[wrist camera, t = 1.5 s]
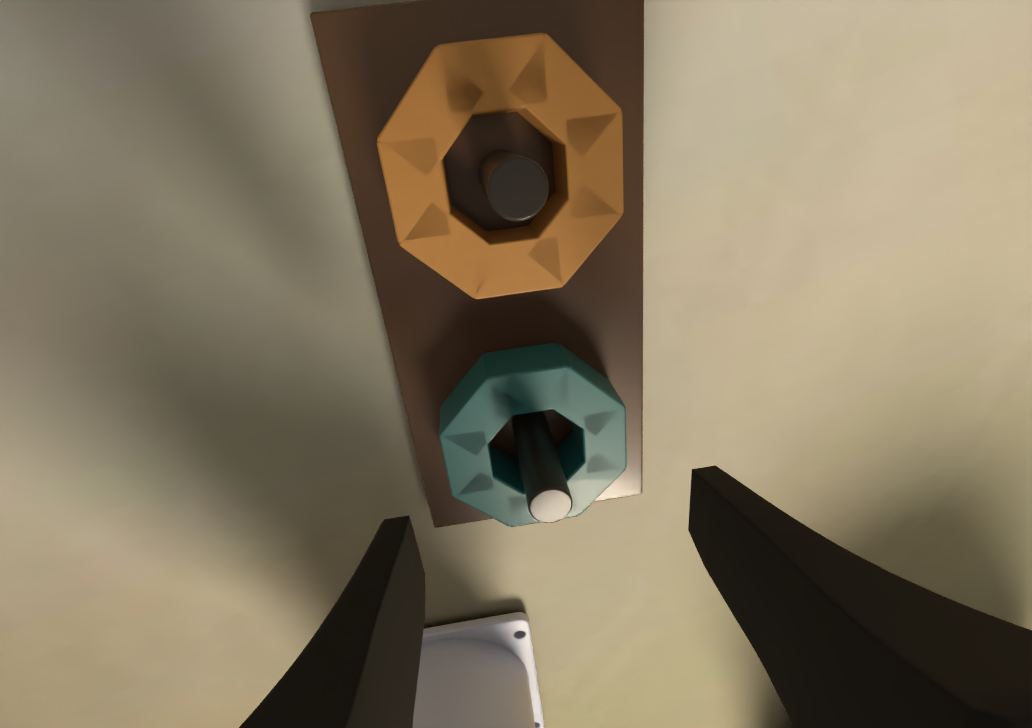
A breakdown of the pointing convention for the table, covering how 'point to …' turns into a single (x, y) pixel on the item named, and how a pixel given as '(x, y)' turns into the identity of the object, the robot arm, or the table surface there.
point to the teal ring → (524, 389)
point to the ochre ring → (545, 105)
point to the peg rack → (495, 226)
